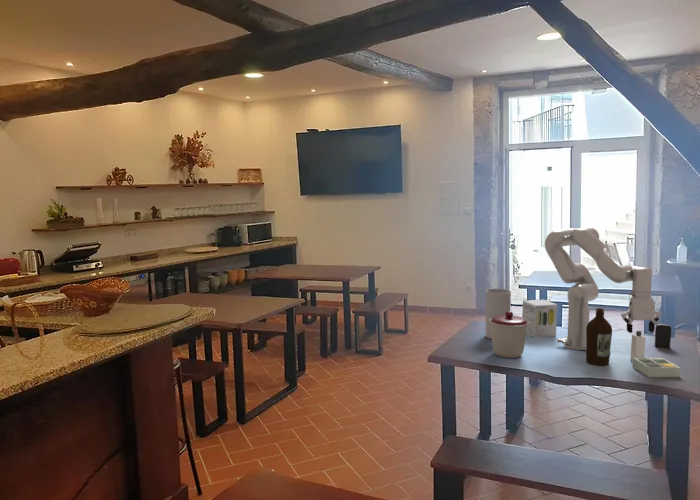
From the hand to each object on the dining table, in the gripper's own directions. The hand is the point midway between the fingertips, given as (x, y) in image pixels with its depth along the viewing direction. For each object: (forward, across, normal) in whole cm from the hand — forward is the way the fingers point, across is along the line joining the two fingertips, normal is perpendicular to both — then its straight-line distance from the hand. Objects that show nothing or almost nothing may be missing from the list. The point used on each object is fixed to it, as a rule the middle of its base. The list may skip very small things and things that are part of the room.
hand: (640, 331), depth 242 cm
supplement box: (+12, -30, +47) cm, 57 cm away
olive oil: (+14, -20, -1) cm, 24 cm away
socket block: (+14, 0, -13) cm, 19 cm away
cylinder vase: (+12, -54, +41) cm, 69 cm away
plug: (+14, -1, +1) cm, 14 cm away
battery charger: (+14, +23, +23) cm, 35 cm away
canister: (+13, -57, +11) cm, 59 cm away
